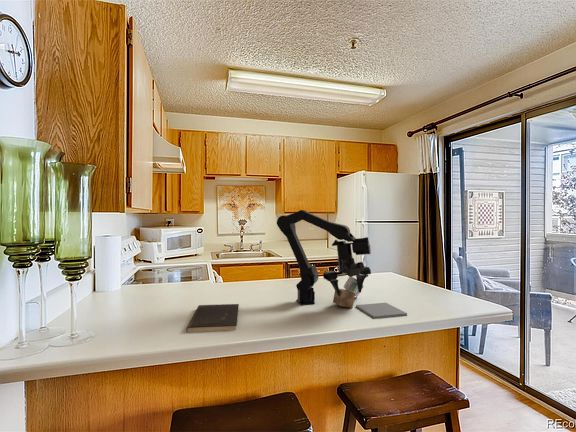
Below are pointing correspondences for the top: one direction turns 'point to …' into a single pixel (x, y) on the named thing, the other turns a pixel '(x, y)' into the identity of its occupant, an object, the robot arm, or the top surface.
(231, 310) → the hardcover book
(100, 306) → the top surface
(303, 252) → the robot arm
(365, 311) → the trivet
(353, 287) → the syrup box
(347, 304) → the walnut cube
